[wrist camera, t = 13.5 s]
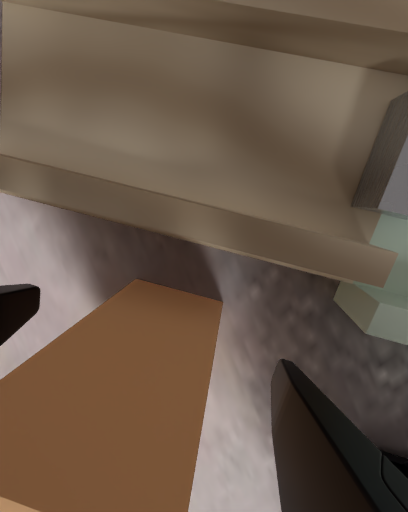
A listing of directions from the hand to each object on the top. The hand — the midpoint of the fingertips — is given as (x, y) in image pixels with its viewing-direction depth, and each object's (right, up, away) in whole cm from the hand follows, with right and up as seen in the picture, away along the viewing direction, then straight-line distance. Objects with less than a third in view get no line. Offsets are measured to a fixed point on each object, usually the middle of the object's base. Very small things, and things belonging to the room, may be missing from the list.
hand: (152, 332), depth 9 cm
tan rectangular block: (0, -1, +4) cm, 4 cm away
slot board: (+1, +8, +2) cm, 8 cm away
